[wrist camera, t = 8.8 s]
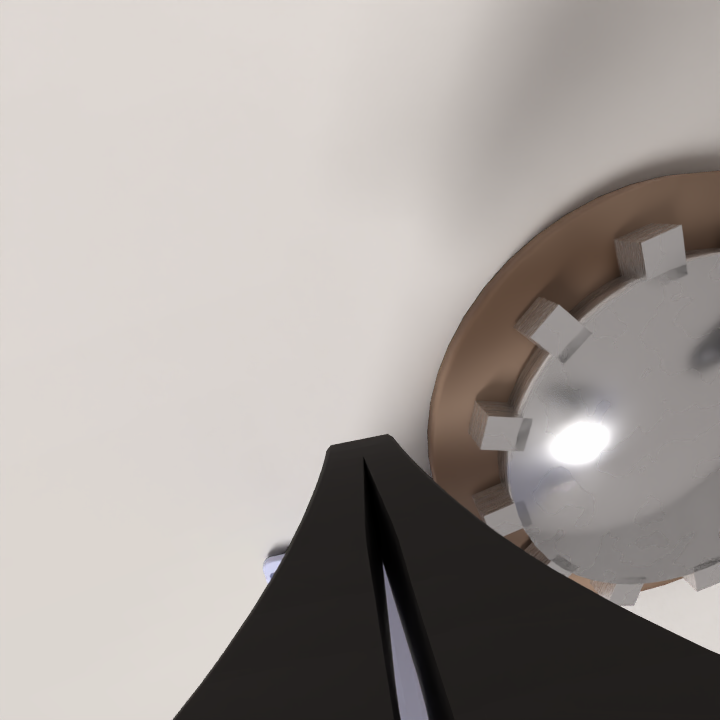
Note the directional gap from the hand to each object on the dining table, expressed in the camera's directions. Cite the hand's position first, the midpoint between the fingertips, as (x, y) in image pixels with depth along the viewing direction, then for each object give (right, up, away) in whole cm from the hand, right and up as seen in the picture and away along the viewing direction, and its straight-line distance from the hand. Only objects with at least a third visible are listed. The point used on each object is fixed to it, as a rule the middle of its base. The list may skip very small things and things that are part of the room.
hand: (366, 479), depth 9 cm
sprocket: (+15, -1, +12) cm, 19 cm away
